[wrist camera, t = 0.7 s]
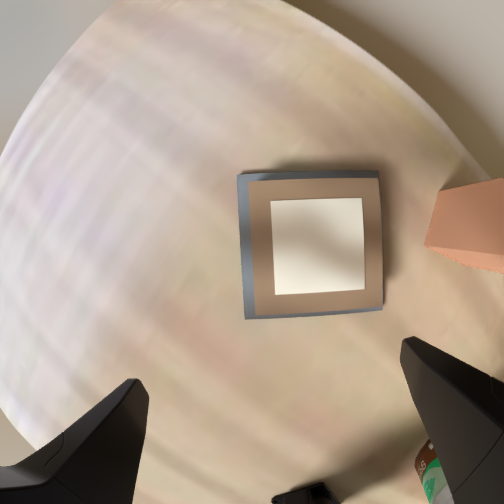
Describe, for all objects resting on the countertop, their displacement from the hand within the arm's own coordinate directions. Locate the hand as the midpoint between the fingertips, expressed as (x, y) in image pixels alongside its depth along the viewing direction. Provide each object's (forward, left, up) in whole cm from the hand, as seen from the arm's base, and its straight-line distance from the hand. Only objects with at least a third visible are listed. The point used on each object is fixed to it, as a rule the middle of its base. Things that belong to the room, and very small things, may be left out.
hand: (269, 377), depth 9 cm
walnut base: (+2, -5, -14) cm, 15 cm away
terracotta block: (-3, -17, -14) cm, 22 cm away
